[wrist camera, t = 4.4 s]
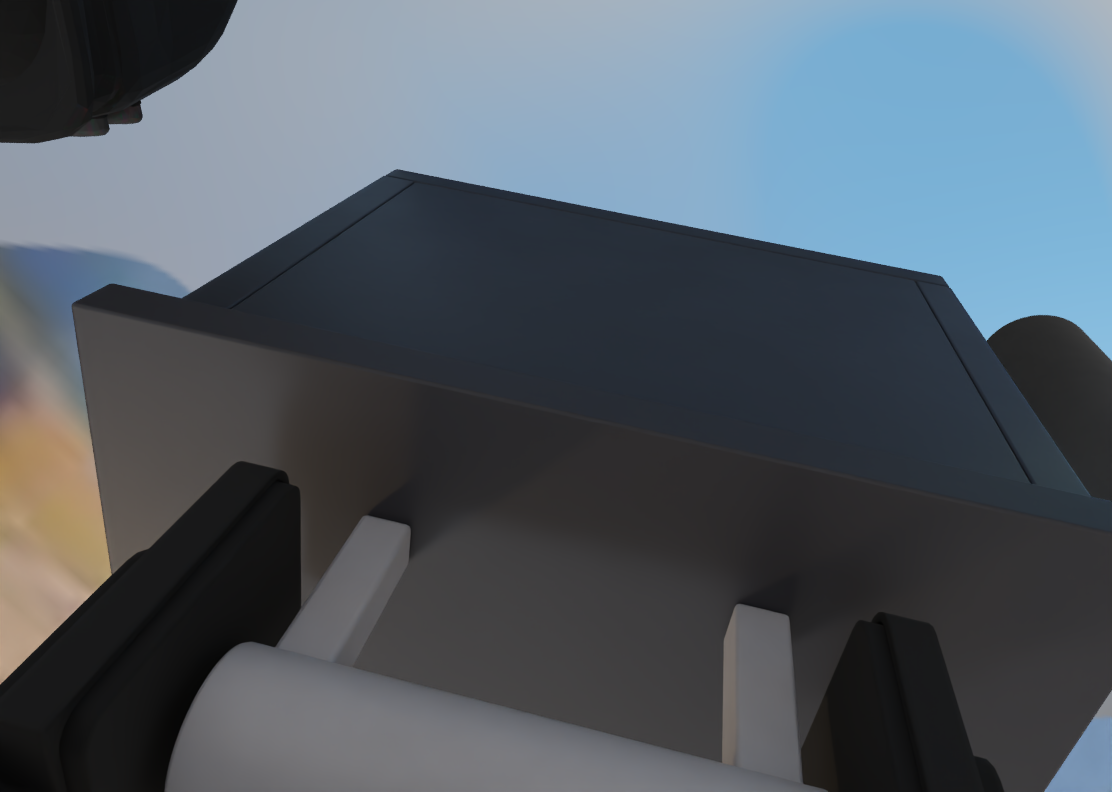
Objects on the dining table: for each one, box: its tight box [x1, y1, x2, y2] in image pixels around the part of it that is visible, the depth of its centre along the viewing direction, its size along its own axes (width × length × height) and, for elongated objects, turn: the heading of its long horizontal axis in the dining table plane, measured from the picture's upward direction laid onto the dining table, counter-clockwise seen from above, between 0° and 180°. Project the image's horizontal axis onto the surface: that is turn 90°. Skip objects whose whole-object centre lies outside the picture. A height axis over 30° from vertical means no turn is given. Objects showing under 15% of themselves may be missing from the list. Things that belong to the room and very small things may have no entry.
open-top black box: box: [182, 169, 1091, 497], centre depth 19 cm, size 16×14×11 cm
